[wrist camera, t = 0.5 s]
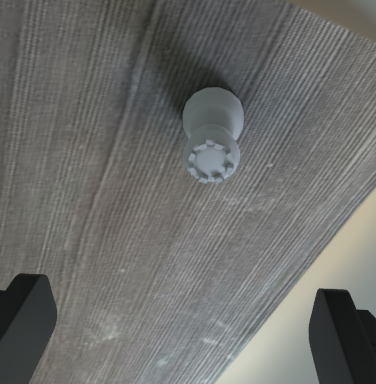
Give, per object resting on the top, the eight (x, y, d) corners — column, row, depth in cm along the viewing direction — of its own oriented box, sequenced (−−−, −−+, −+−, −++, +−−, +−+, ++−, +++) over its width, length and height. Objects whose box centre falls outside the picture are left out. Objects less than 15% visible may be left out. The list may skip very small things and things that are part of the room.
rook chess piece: (176, 92, 26) (160, 134, 19) (238, 78, 25) (245, 116, 18) (190, 148, 28) (181, 204, 21) (248, 137, 27) (258, 192, 20)
